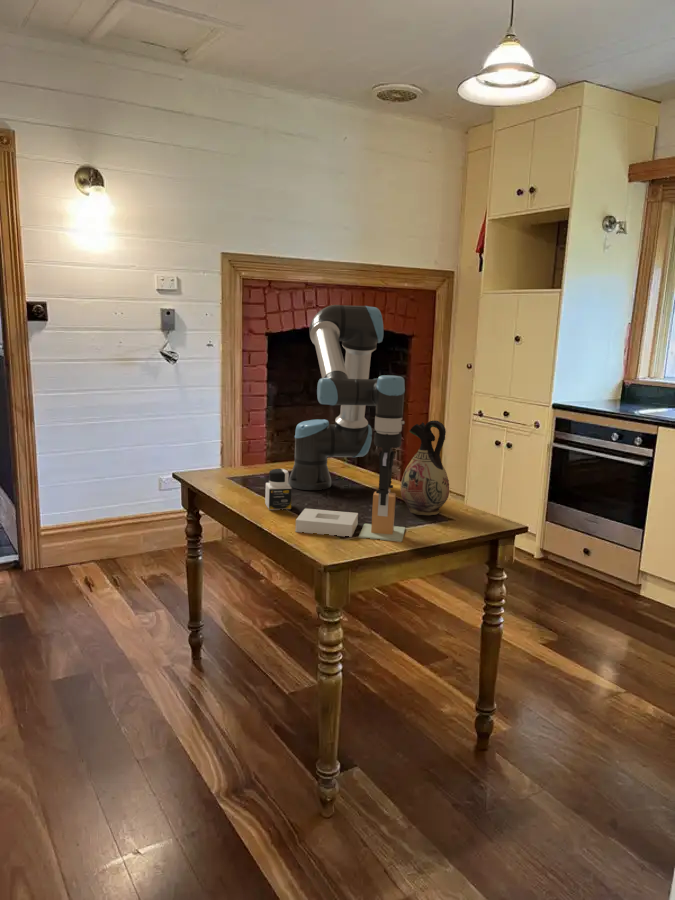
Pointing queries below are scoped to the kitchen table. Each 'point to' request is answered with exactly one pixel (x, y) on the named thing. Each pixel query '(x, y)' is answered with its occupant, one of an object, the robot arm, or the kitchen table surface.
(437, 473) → the ceramic jug
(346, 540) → the kitchen table surface
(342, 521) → the socket housing
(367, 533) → the mat
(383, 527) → the plug
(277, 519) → the kitchen table surface
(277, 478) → the medicine bottle
